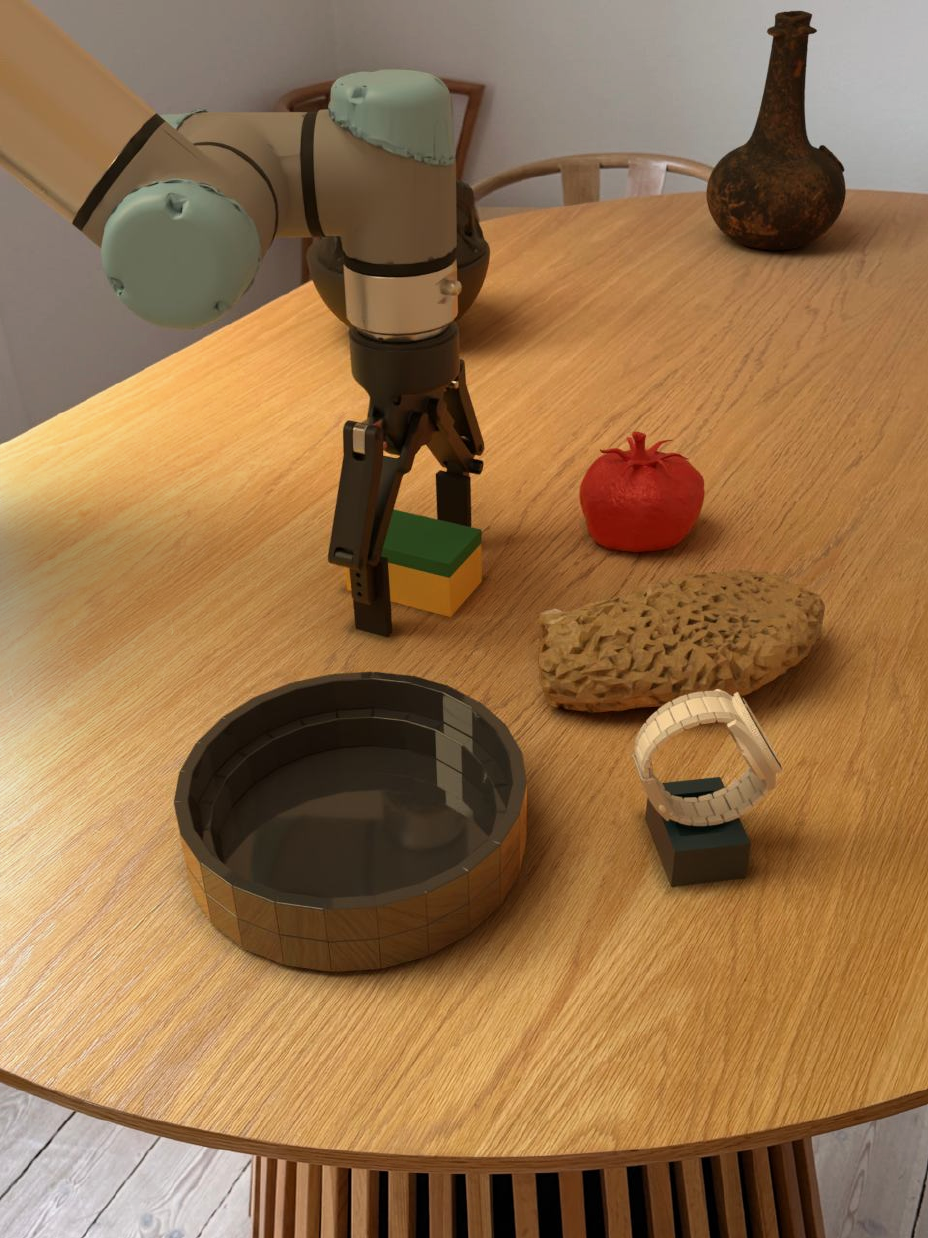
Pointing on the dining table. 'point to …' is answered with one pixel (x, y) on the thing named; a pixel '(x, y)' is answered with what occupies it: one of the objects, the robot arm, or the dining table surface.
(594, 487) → the red tomato
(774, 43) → the glass bottle
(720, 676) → the sponge
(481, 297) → the dining table surface
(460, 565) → the dish sponge
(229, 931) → the bowl
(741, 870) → the watch
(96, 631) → the dining table surface
